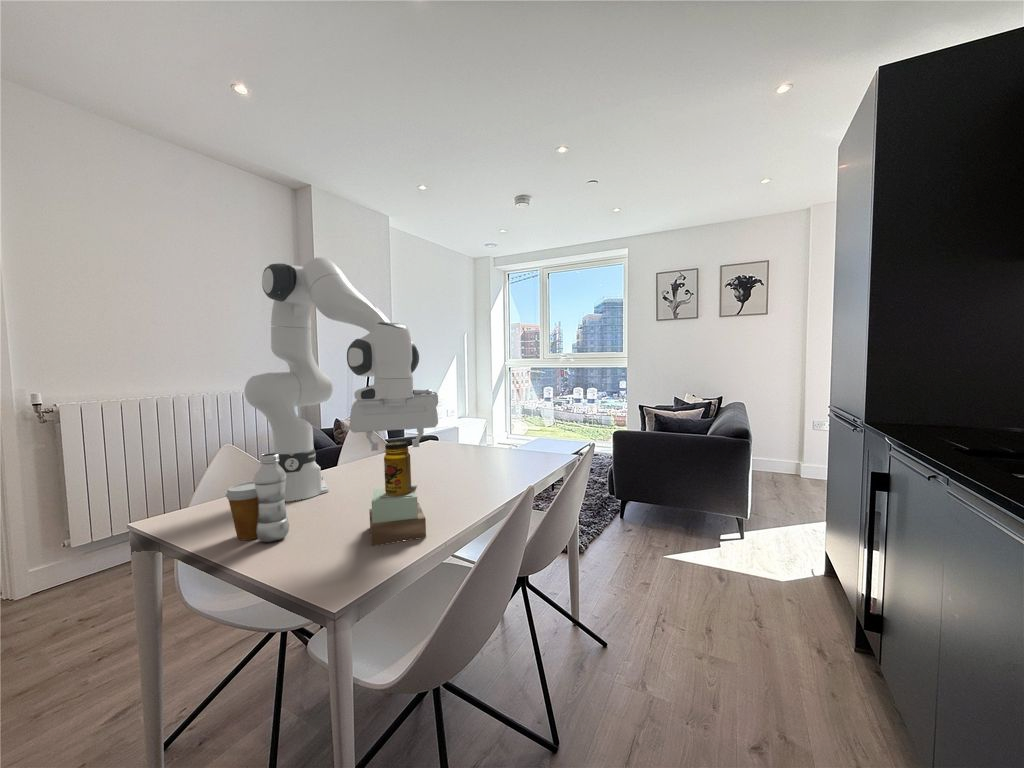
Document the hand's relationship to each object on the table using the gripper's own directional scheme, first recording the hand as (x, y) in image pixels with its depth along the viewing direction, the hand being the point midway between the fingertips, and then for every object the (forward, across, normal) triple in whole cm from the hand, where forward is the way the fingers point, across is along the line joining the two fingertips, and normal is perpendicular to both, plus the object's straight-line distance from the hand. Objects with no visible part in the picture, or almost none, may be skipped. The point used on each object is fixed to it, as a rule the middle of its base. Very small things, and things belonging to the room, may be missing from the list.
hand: (395, 448), depth 99 cm
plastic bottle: (+21, +28, -7) cm, 35 cm away
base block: (+21, 0, 0) cm, 21 cm away
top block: (+16, 0, 0) cm, 16 cm away
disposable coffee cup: (+21, +33, -12) cm, 40 cm away
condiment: (+11, -1, 0) cm, 11 cm away
